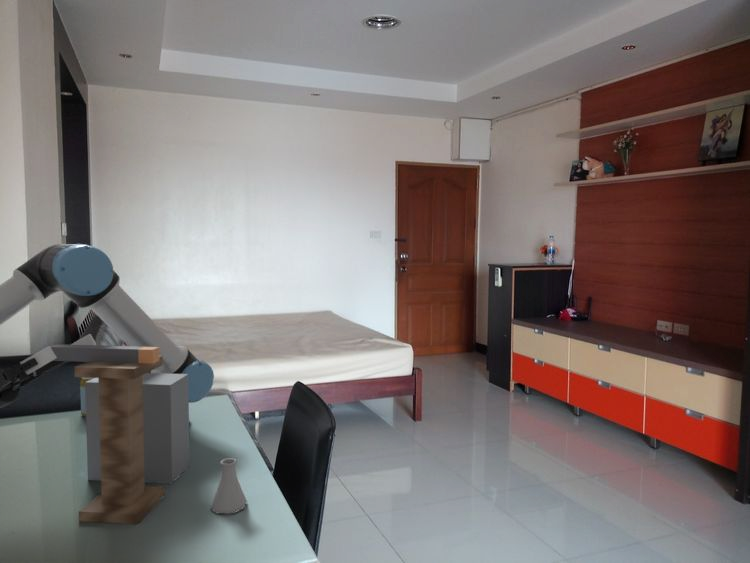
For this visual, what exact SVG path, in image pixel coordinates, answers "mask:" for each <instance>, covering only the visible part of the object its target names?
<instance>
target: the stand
mask: <svg viewBox="0 0 750 563" xmlns="http://www.w3.org/2000/svg"><path fill="white" fill-rule="evenodd" d="M161 365H162V356H159V361H158V362H155V363H153V364H149V363H114V362H84V363H81V364H79V365H76V366H74V368H73V369H74V378H82V377H85V378H98V382H99V420H100V458H101V481H100V486H101V488H100V489H101V493H99V494H98V495H97V496H96V497H94V498H93V499H92V500H90V501H89V502H88V503H87V504H86V505H84V506H83V507H82V508H81V509H80V510H78V521H79V522H87V523H88V522H89V523H90V522H91V523H111V524H112V523H113V524H131V525H132V524H134V525H139V524H140V523H141V521H142V520H143V519H144V518H145V517H146V516H147V515H148V514H149V513H150V512H151V511H152V510H151V509H152V508H153V507H154V506H155V507H156V506H157V504H159V503H160V502H161V500H162V499H163V498H164V497H165V496H166V492H165V490H166V489H165V488H166V487H165V486H154V485H153V486H149V485H148V486H147V485H145V482H144V437H143V387H142V375H144V374H146V373H147V372H149V371H151V370H153V369H155V368H157V367H159V366H161ZM164 495H165V496H164ZM163 496H164V497H163ZM162 497H163V498H162ZM161 498H162V499H161ZM155 507H154V508H155ZM154 508H153V509H154ZM150 510H151V511H150ZM149 511H150V512H149ZM148 512H149V513H148ZM146 514H147V515H146ZM145 515H146V516H145ZM144 516H145V517H144Z"/></svg>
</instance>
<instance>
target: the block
mask: <svg viewBox="0 0 750 563" xmlns="http://www.w3.org/2000/svg"><path fill="white" fill-rule="evenodd" d="M142 387H143V437H144V483H145V484H146V483H147V484H148V483H150V484H151V482H152V484H155V483H154V482H157V483H156V484H169V483H172V484H174V482H176V480H177V479H178V478H179V477H180V476H181V475H182V474H183V473H184V472H185V471H186V470H187V469H188V468H189V467H190V415H189V414H190V412H189V411H190V407H189V406H190V405H189V392H188V374H166V373H146V374H144V375H142ZM85 397H86V417H85V423H86V424H85V425H86V428H85V430H86V459H87V460H86V461H87V465H86V466H87V480H88V481H100V482H101V458H100V420H99V382H98V378H94V379H91V380H89V381H87V382H85ZM188 466H189V467H188ZM187 467H188V468H187ZM186 468H187V469H186ZM185 469H186V470H185ZM184 470H185V471H184ZM183 471H184V472H183ZM182 472H183V473H182ZM181 473H182V474H181ZM180 474H181V475H180ZM179 475H180V476H179ZM178 476H179V477H178ZM177 477H178V478H177ZM176 478H177V479H176ZM175 479H176V480H175ZM173 481H174V482H173Z"/></svg>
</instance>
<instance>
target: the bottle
mask: <svg viewBox="0 0 750 563" xmlns="http://www.w3.org/2000/svg"><path fill="white" fill-rule="evenodd" d="M91 379H94V378H85V377H81V380H80V386H79V389H80V415H81V416H83V417H84V418H86V397H85V382H87V381H89V380H91Z"/></svg>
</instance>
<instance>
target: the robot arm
mask: <svg viewBox="0 0 750 563" xmlns="http://www.w3.org/2000/svg"><path fill="white" fill-rule="evenodd" d="M120 279H121V277H120V275H118V273H117V272H116V271H115V270H114V265H113V263H112V261H111V259H110V258H109V256H108V255H107V254H106V253H105V252H104V251H102V250H101V249H99V248H98V247H95V246H92V245H89V244H84V243H76V244H71V243H57V244H53V245H50V246H48V247H46V248H44V249H42V250H41V251H39V252H38V253H37V254H35V255H34V256H33V257H31V258H30V259H28V260H27V261H25V262H24V263H22V265H20V266H18V267H17V268H15V269H14V270H13V272H12V276H11V277H10V278H8V279H7V280H5V281H4V282H3V283H1V284H0V326H2V325H3V324H4V323H6V322H8V320H10V319H12V318H13V317H14V316H15V315H17V314H18V313H20V312H21V311H23V310H24V309H25V308H28V307H29V306H30V305H31V304H33V303H34V302H35V301H41V302H42V301H44V300H45V299H47V298H49V296H52V295H53V294H56V293H58V292H62V293H64V294H65V295H66V296H67V297H68V298H69V299H70V300H71V301H72V302H73V303H75V305H76V306H77V307H79V308H80V309H88V310H89V309H90V310H91V311H92V312H93V313H94V314H96V316H97V317H99V319H100V320H101V321H103V322H104V323H105V325H107V327H109V328H110V329H111V330H112V331H113V333H114V334H116V335H117V336H118V337H119V338H120V339H121V340H122V341H123V342H124V343H125V344H126V346H137V347H159V356H162V365H161V366H159V367H157V368H155V369H153V370H151V371H149V372H147V373H166V374H188V392H189V403H191V404H193V403H196V402H200V401H201V400H203V399H204V398H206V396H207V395H208V394H209V393H210V391H211V389H212V387H213V385H214V379H215V375H214V370H213V368H212V366H211V365H210V364H209V363H207V362H205V361H203V360H200V359H198V358H197V357H196V356H195V355H194V354H193V353H192V352H191V351H190V350H189V349H188V348H187V346H185V345H177V344H176V343H175V342H174V341H173V340H172V339H171V338H170V337H169V336H168V335H167V334H166V333H165V331H163V330H162V329H161V328H160V327H159V326H158V324H157V323H155V321H154V320H153V319H152V318H151V317H150V316H149V315H148V314H147V313H146V312H145V311H144V310H143V309H142V307H141V306H140V305H138V303H136V301H135V300H134V299H132V297H131V296H130V295H129V294H128V293H127V292H126V291H125V290H124V289H123V288H122V287H121V286H120V282H121V281H120ZM70 345H97V342H96V341H95V339H94V337H93V335H92V334H91V333H89V334H87V335H85V336H83V337H81V338H80V339H78V340H76V341H74V342H73V343H70ZM50 346H51V345H49V346H46V347H44V348H42V349H41V350H39V351H38V352H36V353H34V354H32V355H30V356H28V357H27V358H25V359H24V360H21V361H20V362H19V363H20V364H19V363H15V364H13V365H12V366H11V368H10V367H4V369H3V370H2V369H0V409H2V408H4V407H6V406H8V405H10V404H12V403H13V402H15V401H16V400H17V399H18V397H19V395H20V388H23V387H25V386H27V385H29V384H30V383H31V382H33V381H36V379H39V378H40V377H42V376H43V375H45V374H47V373H49V372H51V371H53V370H55V369H57V368H59V367H61V366H63V365H65V364H66V363H68V362H70V361H53V360H54V359H56V358H57V357H56V355H55V354H54V352H53V350H52V349H51V347H50Z"/></svg>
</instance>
